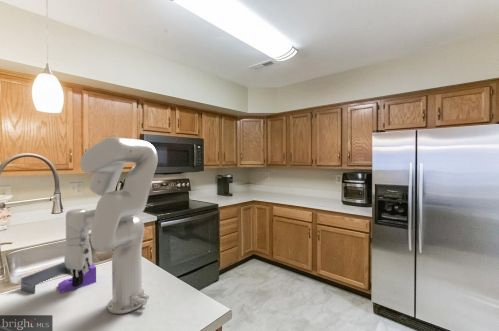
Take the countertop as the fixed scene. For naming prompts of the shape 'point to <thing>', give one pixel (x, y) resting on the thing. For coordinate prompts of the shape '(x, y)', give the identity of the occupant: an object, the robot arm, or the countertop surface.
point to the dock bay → (41, 277)
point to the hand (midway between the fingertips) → (77, 285)
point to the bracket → (87, 279)
